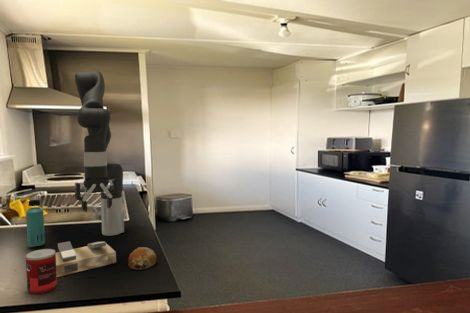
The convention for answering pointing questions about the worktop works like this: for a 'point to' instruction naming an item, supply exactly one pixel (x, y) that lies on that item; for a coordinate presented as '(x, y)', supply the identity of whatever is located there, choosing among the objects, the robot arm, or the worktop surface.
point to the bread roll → (142, 258)
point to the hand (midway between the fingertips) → (97, 209)
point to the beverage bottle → (35, 224)
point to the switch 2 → (96, 245)
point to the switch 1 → (66, 251)
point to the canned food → (41, 271)
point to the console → (85, 260)
